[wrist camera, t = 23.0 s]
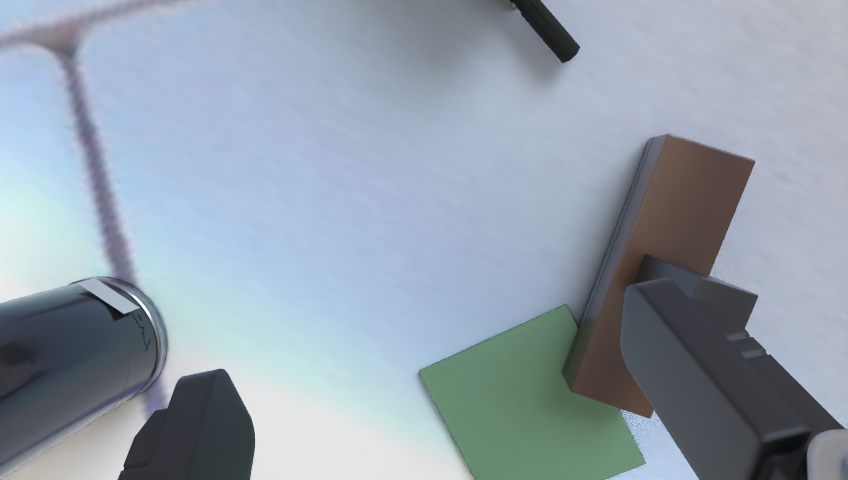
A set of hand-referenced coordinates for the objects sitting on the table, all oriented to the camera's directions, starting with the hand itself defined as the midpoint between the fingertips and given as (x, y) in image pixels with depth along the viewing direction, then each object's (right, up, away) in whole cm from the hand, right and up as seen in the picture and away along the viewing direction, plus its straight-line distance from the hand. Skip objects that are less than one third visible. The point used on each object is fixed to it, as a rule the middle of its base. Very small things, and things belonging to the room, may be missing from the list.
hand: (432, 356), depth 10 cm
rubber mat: (+7, -10, +24) cm, 27 cm away
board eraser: (+14, 0, +22) cm, 26 cm away
